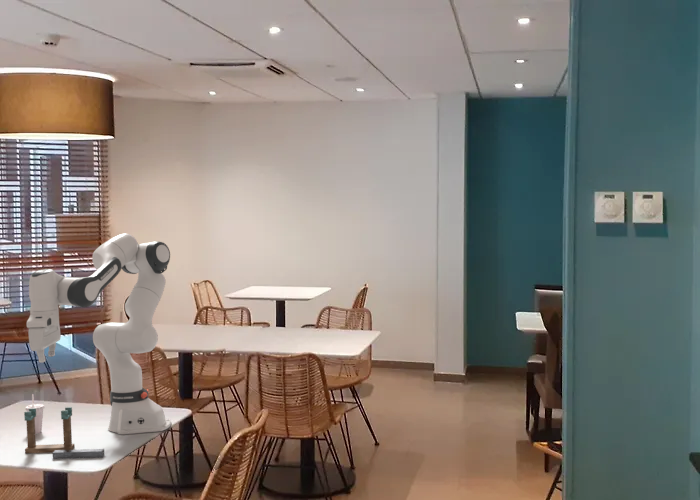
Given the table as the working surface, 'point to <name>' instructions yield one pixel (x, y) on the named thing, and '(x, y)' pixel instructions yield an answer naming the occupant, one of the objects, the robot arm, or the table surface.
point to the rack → (67, 444)
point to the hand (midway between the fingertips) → (47, 359)
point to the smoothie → (37, 414)
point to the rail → (78, 454)
